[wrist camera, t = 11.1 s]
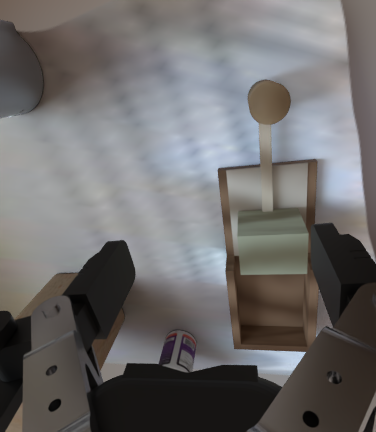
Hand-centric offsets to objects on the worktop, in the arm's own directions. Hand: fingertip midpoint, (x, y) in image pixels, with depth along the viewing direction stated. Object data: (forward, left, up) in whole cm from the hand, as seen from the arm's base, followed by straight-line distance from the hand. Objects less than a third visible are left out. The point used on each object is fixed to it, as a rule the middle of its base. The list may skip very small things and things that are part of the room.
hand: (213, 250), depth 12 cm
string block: (+4, +4, -22) cm, 22 cm away
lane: (+16, +4, -23) cm, 29 cm away
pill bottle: (+33, -11, -24) cm, 42 cm away
